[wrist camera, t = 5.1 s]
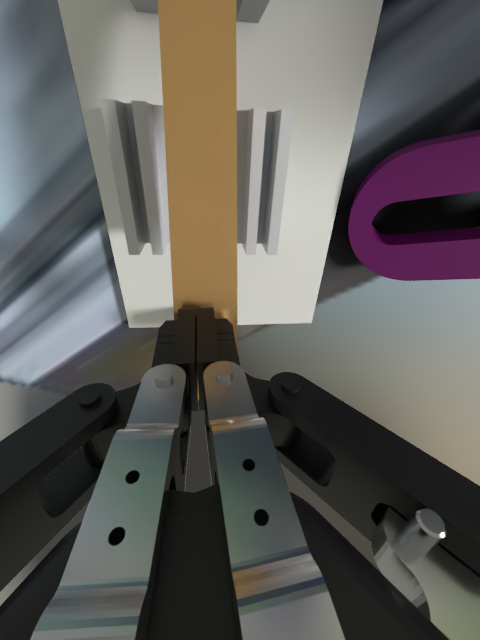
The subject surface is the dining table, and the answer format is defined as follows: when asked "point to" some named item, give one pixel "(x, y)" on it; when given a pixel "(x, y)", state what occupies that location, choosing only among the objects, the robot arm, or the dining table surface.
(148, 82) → the board
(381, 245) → the mounting bracket
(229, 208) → the wooden strip
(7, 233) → the dining table surface
